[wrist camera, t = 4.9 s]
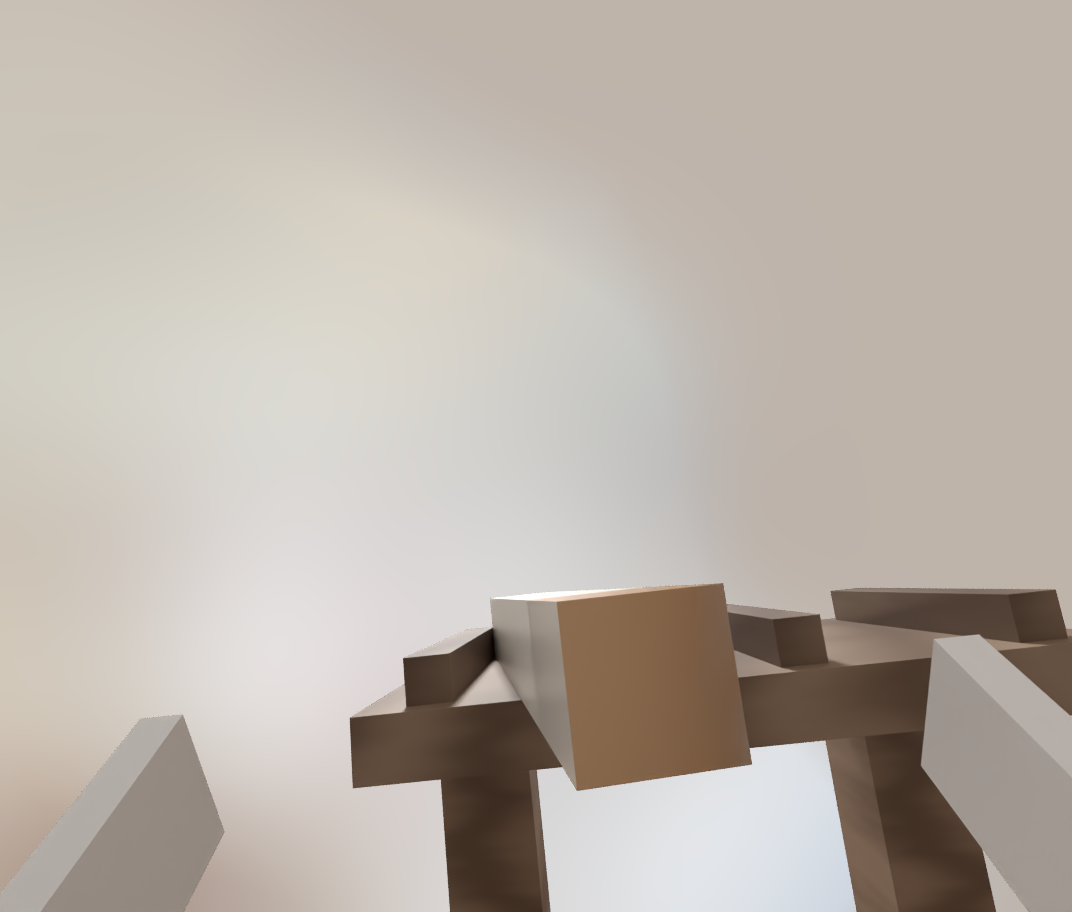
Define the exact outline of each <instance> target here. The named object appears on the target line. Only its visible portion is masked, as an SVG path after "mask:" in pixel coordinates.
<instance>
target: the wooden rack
mask: <svg viewBox="0 0 1072 912" xmlns="http://www.w3.org/2000/svg"><path fill="white" fill-rule="evenodd" d="M831 596H832V601H833V606H834V611H835V617H836V618H834V619H824V620H821V619H820V614H811V613H803V612H793V611H785V610H775V609H767V608H758V607H749V606H739V605H730V604H726V605H727V611H728V617H729V623H730V630H731V636H732V642H733V648H734V655H735V661H736V667H737V674H738V680H739V686H740V692H741V699H742V705H743V711H744V717H745V724H746V730H747V736H748V742H749V748H754V747H765V746H773V745H784V744H793V743H804V742H814V741H824V740H826V745H827V751H828V756H829V762H830V767H831V773H832V778H833V784H834V789H835V795H836V800H837V806H838V811H839V817H840V822H841V828H842V833H843V839H844V844H845V850H846V855H847V860H848V866H849V872H850V877H851V883H852V888H853V894H854V899H855V904H856V910H857V912H996V909H995V905H994V900H993V896H992V891H991V887H990V882H989V878H988V873H987V868H986V864H985V860H984V856H983V850H982V848H981V847H980V845H979V844H978V842H977V841H976V840H975V838H974V837H973V836H972V834H971V833H970V832H969V830H968V829H967V828H966V826H965V825H964V823H963V822H962V821H961V819H960V818H959V817H958V815H957V814H956V813H955V811H954V810H953V809H952V807H951V806H950V804H949V803H948V802H947V800H946V799H945V798H944V796H943V795H942V794H941V792H940V791H939V789H938V788H937V787H936V785H935V784H934V783H933V781H932V780H931V779H930V777H929V776H928V775H927V773H926V772H925V770H924V769H923V768H922V766H921V759H922V749H923V740H924V730H925V720H926V710H927V700H928V690H929V681H930V671H931V661H932V651H933V641H934V639H939V638H949V637H959V636H969V635H978V634H979V635H980V636H981V637H982V638H984V639H985V640H986V641H987V642H988V643H989V644H990V645H991V646H993V647H994V648H995V649H996V650H997V651H998V652H999V653H1000V654H1002V655H1003V656H1004V657H1005V658H1006V659H1007V660H1008V661H1009V662H1011V663H1012V664H1013V665H1014V666H1015V667H1016V668H1017V669H1018V670H1020V671H1021V672H1022V673H1023V674H1024V675H1025V676H1026V677H1027V678H1028V679H1030V680H1031V681H1032V682H1033V683H1034V684H1035V685H1036V686H1037V687H1039V688H1040V689H1041V690H1042V691H1043V692H1044V693H1045V694H1046V695H1048V696H1049V697H1050V698H1051V699H1052V700H1053V701H1054V702H1055V703H1057V704H1058V705H1059V706H1060V707H1061V708H1062V709H1063V710H1064V711H1066V712H1067V713H1068V714H1069V715H1072V629H1066V628H1065V624H1064V620H1063V617H1062V612H1061V609H1060V605H1059V601H1058V597H1057V593H1056V590H1048V589H1047V590H1045V589H1044V590H1043V589H1042V590H1041V589H920V588H919V589H916V588H912V589H911V588H854V589H845V590H835V591H831ZM403 663H404V680H405V684H404V685H402V686H401V687H399V688H397V689H395V690H394V691H392V692H391V693H389V694H387V695H386V696H384V697H383V698H381V699H379V700H378V701H376V702H375V703H373V704H371V705H370V706H368V707H366V708H365V709H363V710H362V711H360V712H358V713H357V714H355V715H354V716H352V717H350V733H351V754H352V755H351V756H352V779H353V788H360V787H370V786H379V785H390V784H400V783H410V782H420V781H429V780H439V779H441V788H442V801H443V817H444V831H445V845H446V858H447V874H448V888H449V903H450V912H550V902H549V892H548V881H547V871H546V861H545V850H544V840H543V830H542V820H541V810H540V799H539V790H538V779H537V770H538V769H548V768H557V767H562V765H561V764H560V762H559V760H558V759H557V757H556V755H555V754H554V752H553V751H552V749H551V747H550V746H549V744H548V742H547V741H546V739H545V737H544V736H543V734H542V733H541V731H540V729H539V728H538V726H537V724H536V723H535V721H534V719H533V718H532V716H531V715H530V713H529V711H528V710H527V708H526V706H525V705H524V703H523V701H522V700H521V698H520V696H519V695H518V693H517V692H516V690H515V688H514V687H513V685H512V683H511V682H510V680H509V678H508V677H507V675H506V674H505V672H504V670H503V669H502V667H501V665H500V664H499V662H498V660H497V659H496V657H495V647H494V636H493V627H486V628H477V629H467V630H464V631H462V632H460V633H458V634H455V635H453V636H451V637H449V638H447V639H445V640H442V641H440V642H438V643H436V644H433V645H431V646H429V647H427V648H425V649H423V650H421V651H418V652H416V653H414V654H411V655H409V656H407V657H405V658H403Z"/></svg>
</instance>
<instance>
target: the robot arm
mask: <svg viewBox="0 0 1072 912" xmlns="http://www.w3.org/2000/svg"><path fill="white" fill-rule="evenodd" d="M921 766H922V768H923V769H924V770H925V772H926V773H927V775H928V776H929V777H930V779H931V780H932V781H933V783H934V784H935V785H936V787H937V788H938V789H939V791H940V792H941V794H942V795H943V796H944V798H945V799H946V800H947V802H948V803H949V804H950V806H951V807H952V809H953V810H954V811H955V813H956V814H957V815H958V817H959V818H960V819H961V821H962V822H963V823H964V825H965V826H966V828H967V829H968V830H969V832H970V833H971V834H972V836H973V837H974V838H975V840H976V841H977V842H978V844H979V845H980V847H981V848H982V849H983V851H984V852H985V853H986V855H987V856H988V857H989V859H990V860H991V862H992V863H993V864H994V866H995V867H996V868H997V869H998V871H999V872H1000V874H1001V875H1002V876H1003V878H1004V879H1005V881H1006V882H1007V883H1008V885H1009V886H1010V887H1011V889H1012V890H1013V891H1014V893H1015V894H1016V895H1017V897H1018V898H1019V899H1020V901H1021V902H1022V904H1023V905H1024V906H1025V908H1026V909H1027V910H1028V911H1029V912H1072V717H1071V716H1070V715H1069V714H1068V713H1067V712H1066V711H1064V710H1063V709H1062V708H1061V707H1060V706H1059V705H1058V704H1057V703H1055V702H1054V701H1053V700H1052V699H1051V698H1050V697H1049V696H1048V695H1046V694H1045V693H1044V692H1043V691H1042V690H1041V689H1040V688H1039V687H1037V686H1036V685H1035V684H1034V683H1033V682H1032V681H1031V680H1030V679H1028V678H1027V677H1026V676H1025V675H1024V674H1023V673H1022V672H1021V671H1020V670H1018V669H1017V668H1016V667H1015V666H1014V665H1013V664H1012V663H1011V662H1009V661H1008V660H1007V659H1006V658H1005V657H1004V656H1003V655H1002V654H1000V653H999V652H998V651H997V650H996V649H995V648H994V647H993V646H991V645H990V644H989V643H988V642H987V641H986V640H985V639H984V638H982V637H981V636H980V635H979V634H978V635H969V636H959V637H949V638H939V639H934V641H933V651H932V661H931V671H930V681H929V690H928V700H927V710H926V720H925V730H924V740H923V749H922V759H921ZM223 834H224V829H223V826H222V823H221V820H220V818H219V815H218V812H217V809H216V806H215V804H214V801H213V798H212V795H211V792H210V790H209V787H208V784H207V781H206V778H205V776H204V773H203V770H202V767H201V764H200V761H199V759H198V756H197V753H196V750H195V747H194V745H193V742H192V739H191V736H190V734H189V731H188V728H187V725H186V722H185V719H184V717H183V715H173V716H163V717H153V718H144V719H140V720H139V721H138V722H137V724H136V725H135V726H134V728H133V729H132V730H131V731H130V733H129V734H128V735H127V736H126V737H125V739H124V740H123V741H122V743H121V744H120V745H119V746H118V747H117V749H116V750H115V751H114V753H113V754H112V755H111V756H110V757H109V759H108V760H107V761H106V762H105V764H104V765H103V766H102V767H101V769H100V770H99V771H98V772H97V774H96V775H95V776H94V778H93V779H92V780H91V781H90V782H89V784H88V785H87V786H86V787H85V789H84V790H83V791H82V792H81V794H80V795H79V796H78V797H77V799H76V800H75V801H74V802H73V804H72V805H71V806H70V807H69V809H68V810H67V811H66V812H65V813H64V815H63V816H62V818H60V820H59V821H58V822H57V823H56V825H55V826H54V827H53V828H52V830H51V831H50V832H49V834H48V835H47V836H46V837H45V838H44V840H43V841H42V842H41V843H40V845H39V846H38V847H37V848H36V850H35V851H34V852H33V853H32V855H31V856H30V857H29V859H28V860H27V861H26V862H25V863H24V865H23V866H22V867H21V868H20V870H19V871H18V872H17V873H16V875H15V876H14V877H13V878H12V880H11V881H10V882H9V883H8V885H7V886H6V887H5V888H4V890H3V891H2V892H1V893H0V912H184V911H185V909H186V906H187V905H188V903H189V901H190V899H191V897H192V895H193V893H194V891H195V889H196V887H197V885H198V883H199V881H200V879H201V877H202V875H203V873H204V871H205V869H206V867H207V865H208V863H209V862H210V860H211V858H212V856H213V854H214V852H215V850H216V847H217V846H218V844H219V842H220V840H221V838H222V836H223Z"/></svg>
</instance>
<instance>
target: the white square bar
mask: <svg viewBox="0 0 1072 912" xmlns="http://www.w3.org/2000/svg"><path fill="white" fill-rule="evenodd" d="M490 602H491V613H492V624H493V636H494V647H495V657H496V659H497V660H498V662H499V664H500V665H501V667H502V669H503V670H504V672H505V674H506V675H507V677H508V678H509V680H510V682H511V683H512V685H513V687H514V688H515V690H516V692H517V693H518V695H519V696H520V698H521V700H522V701H523V703H524V705H525V706H526V708H527V710H528V711H529V713H530V715H531V716H532V718H533V719H534V721H535V723H536V724H537V726H538V728H539V729H540V731H541V733H542V734H543V736H544V737H545V739H546V741H547V742H548V744H549V746H550V747H551V749H552V751H553V752H554V754H555V755H556V757H557V759H558V760H559V762H560V764H561V765H562V767H563V769H564V770H565V771H566V773H567V775H568V777H569V778H570V780H571V782H572V783H573V785H574V787H575V788H576V790H577V791H579V790H585V789H593V788H599V787H606V786H612V785H619V784H626V783H632V782H639V781H645V780H652V779H659V778H665V777H672V776H679V775H685V774H692V773H699V772H705V771H711V770H718V769H725V768H732V767H738V766H745V765H751V764H752V761H751V755H750V749H749V742H748V736H747V730H746V724H745V717H744V711H743V705H742V699H741V692H740V686H739V680H738V674H737V667H736V661H735V655H734V648H733V642H732V636H731V630H730V623H729V617H728V611H727V605H726V598H725V592H724V586H723V583H721V584H702V585H683V586H663V587H643V588H622V589H603V590H585V591H563V592H545V593H536V594H526V595H518V596H509V597H499V598H490Z"/></svg>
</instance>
